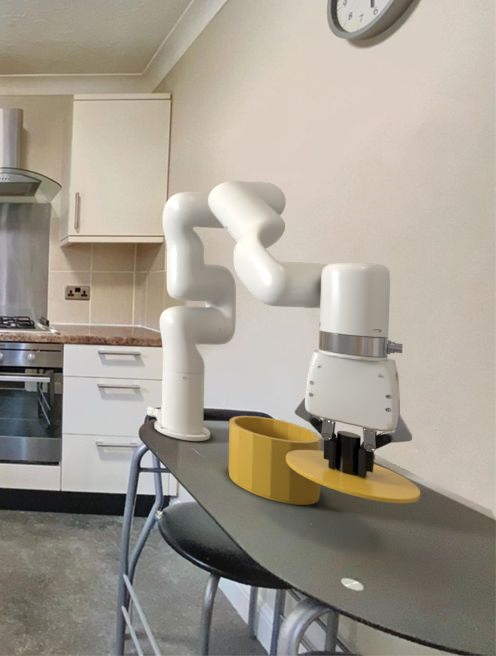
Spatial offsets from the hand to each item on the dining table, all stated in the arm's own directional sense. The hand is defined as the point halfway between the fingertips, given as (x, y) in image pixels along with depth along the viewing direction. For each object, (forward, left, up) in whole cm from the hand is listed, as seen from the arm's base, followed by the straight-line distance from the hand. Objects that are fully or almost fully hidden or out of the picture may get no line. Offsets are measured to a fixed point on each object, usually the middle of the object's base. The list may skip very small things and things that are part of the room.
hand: (347, 469), depth 59 cm
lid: (0, 0, -1) cm, 1 cm away
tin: (-12, +11, -10) cm, 19 cm away
